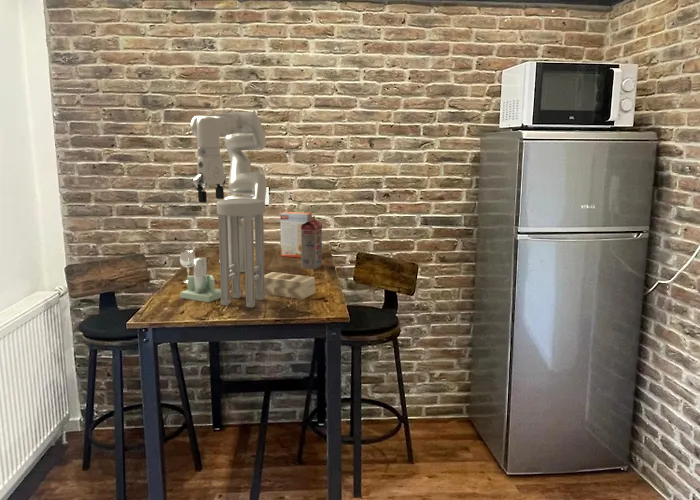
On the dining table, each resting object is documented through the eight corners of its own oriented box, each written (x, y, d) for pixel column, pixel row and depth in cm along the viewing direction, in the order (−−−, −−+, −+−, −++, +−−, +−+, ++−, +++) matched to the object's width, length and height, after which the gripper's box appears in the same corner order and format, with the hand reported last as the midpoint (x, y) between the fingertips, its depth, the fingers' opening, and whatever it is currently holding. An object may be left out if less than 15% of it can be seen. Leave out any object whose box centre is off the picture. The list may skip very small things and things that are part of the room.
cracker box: (312, 256, 278) (312, 212, 274) (307, 258, 272) (307, 214, 268) (286, 254, 282) (285, 211, 278) (280, 256, 277) (279, 212, 273)
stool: (272, 297, 208) (270, 199, 201) (256, 309, 193) (253, 204, 186) (232, 294, 211) (229, 197, 204) (212, 306, 196) (208, 202, 190)
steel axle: (201, 294, 203) (200, 260, 201) (192, 292, 205) (190, 259, 203) (210, 291, 207) (209, 258, 205) (200, 289, 209) (199, 256, 207)
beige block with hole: (259, 293, 213) (259, 277, 212) (273, 287, 221) (272, 271, 220) (302, 299, 206) (302, 282, 205) (314, 293, 214) (314, 277, 213)
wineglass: (182, 283, 225) (181, 253, 223) (179, 280, 230) (178, 250, 228) (197, 282, 228) (196, 252, 225) (194, 279, 233) (193, 249, 230)
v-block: (198, 291, 214) (197, 272, 213) (225, 295, 209) (224, 276, 208) (180, 297, 206) (179, 278, 205) (208, 302, 201) (207, 282, 200)
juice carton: (301, 267, 254) (301, 217, 250) (308, 264, 260) (308, 215, 256) (315, 268, 252) (315, 218, 248) (321, 265, 258) (321, 216, 254)
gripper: (201, 154, 198) (204, 204, 202) (232, 151, 214) (234, 198, 218) (184, 153, 202) (187, 203, 206) (215, 150, 217) (218, 196, 221)
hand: (211, 200), depth 212 cm, fingers open, 9 cm apart
